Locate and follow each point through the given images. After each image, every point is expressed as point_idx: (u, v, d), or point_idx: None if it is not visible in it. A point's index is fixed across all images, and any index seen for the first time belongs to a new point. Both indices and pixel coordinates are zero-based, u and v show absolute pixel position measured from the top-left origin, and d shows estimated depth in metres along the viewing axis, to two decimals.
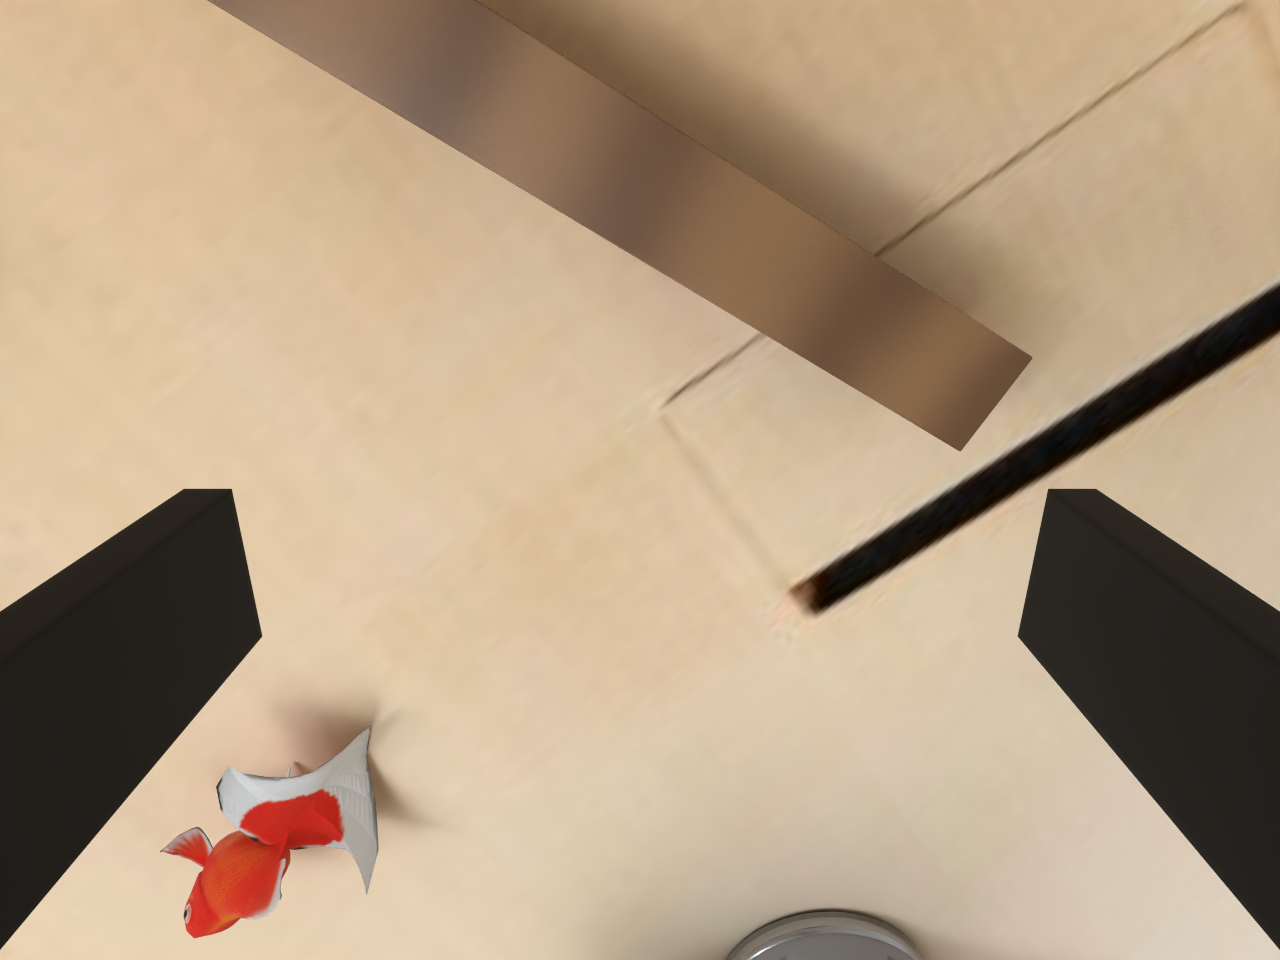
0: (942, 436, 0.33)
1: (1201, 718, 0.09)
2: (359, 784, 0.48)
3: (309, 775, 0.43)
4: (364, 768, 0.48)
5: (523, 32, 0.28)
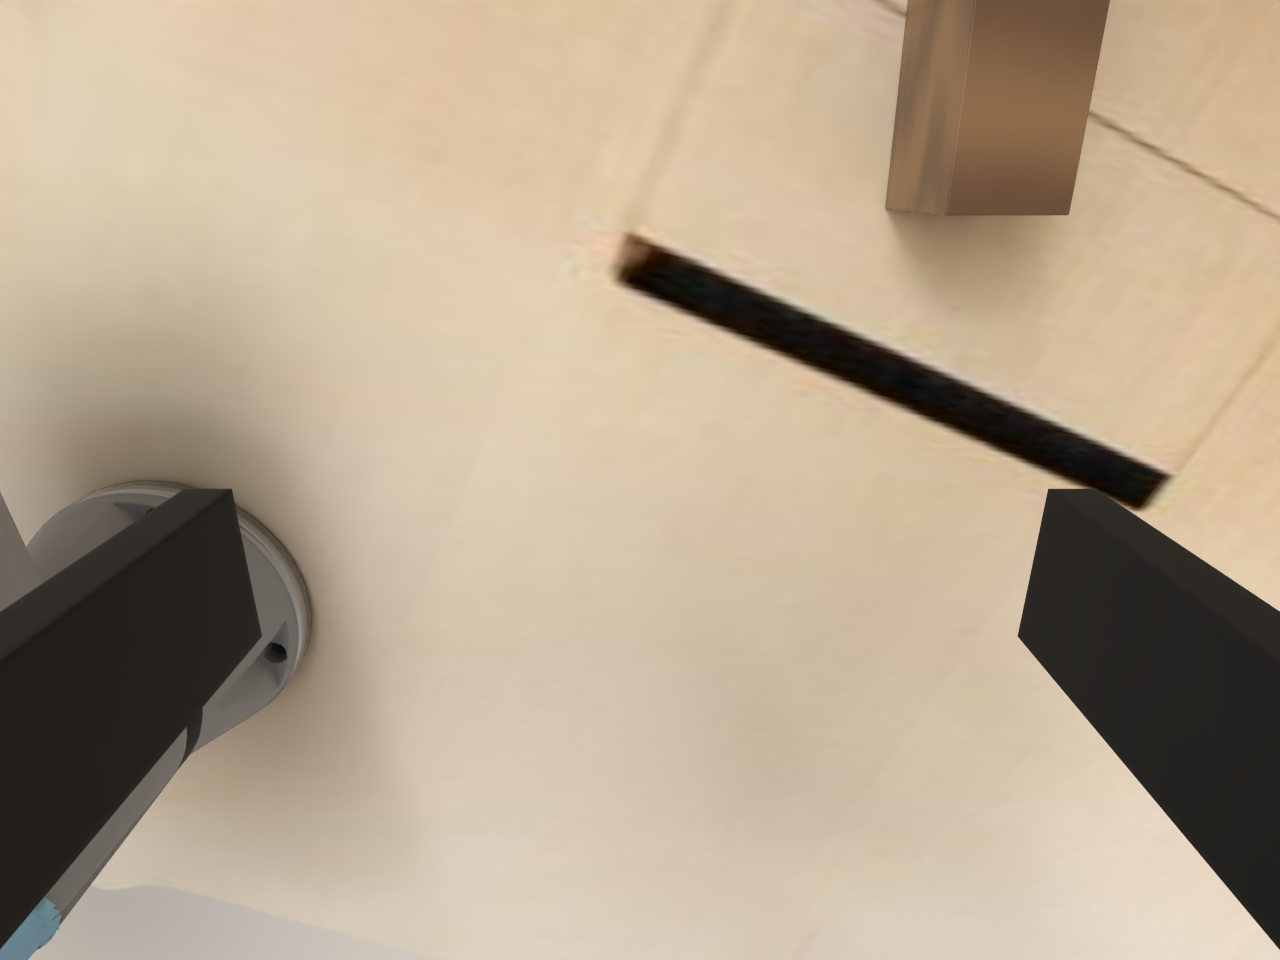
0: (954, 184, 0.29)
1: (1201, 719, 0.09)
2: None
3: None
4: None
5: None
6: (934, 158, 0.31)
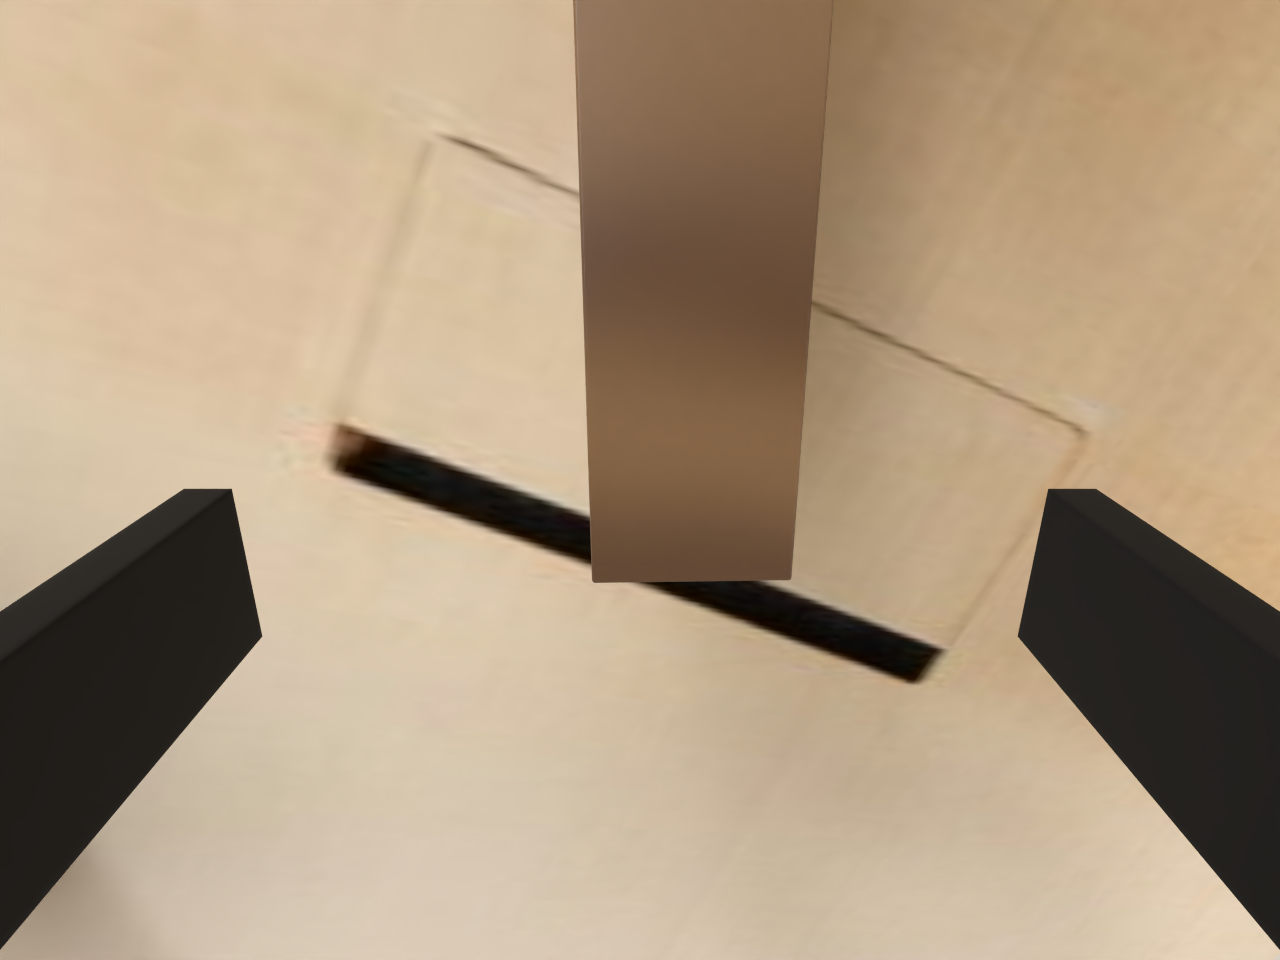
0: (597, 541, 0.18)
1: (1201, 719, 0.09)
2: None
3: None
4: None
5: None
6: None
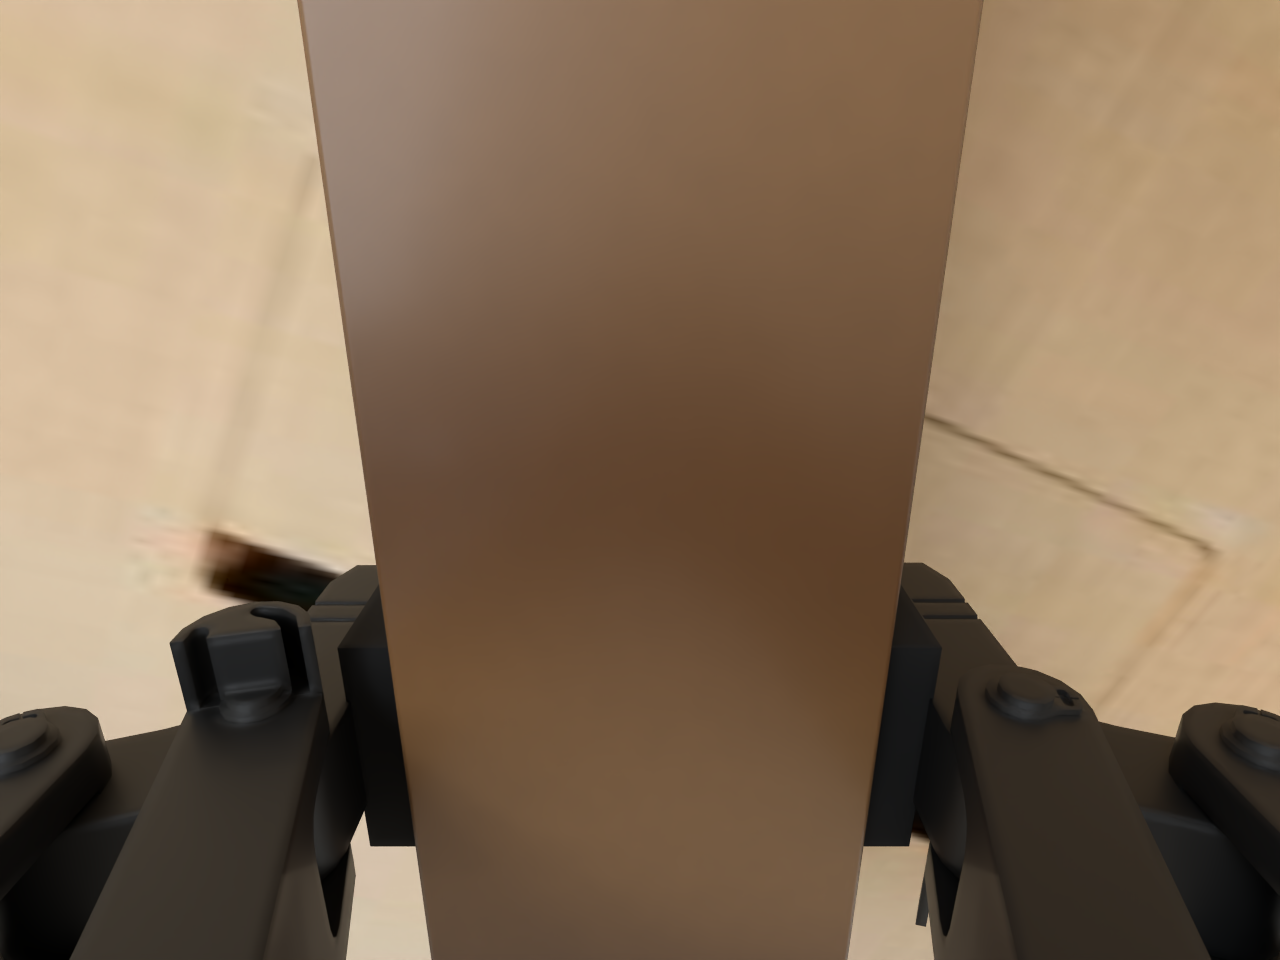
0: None
1: None
2: None
3: None
4: None
5: None
6: None
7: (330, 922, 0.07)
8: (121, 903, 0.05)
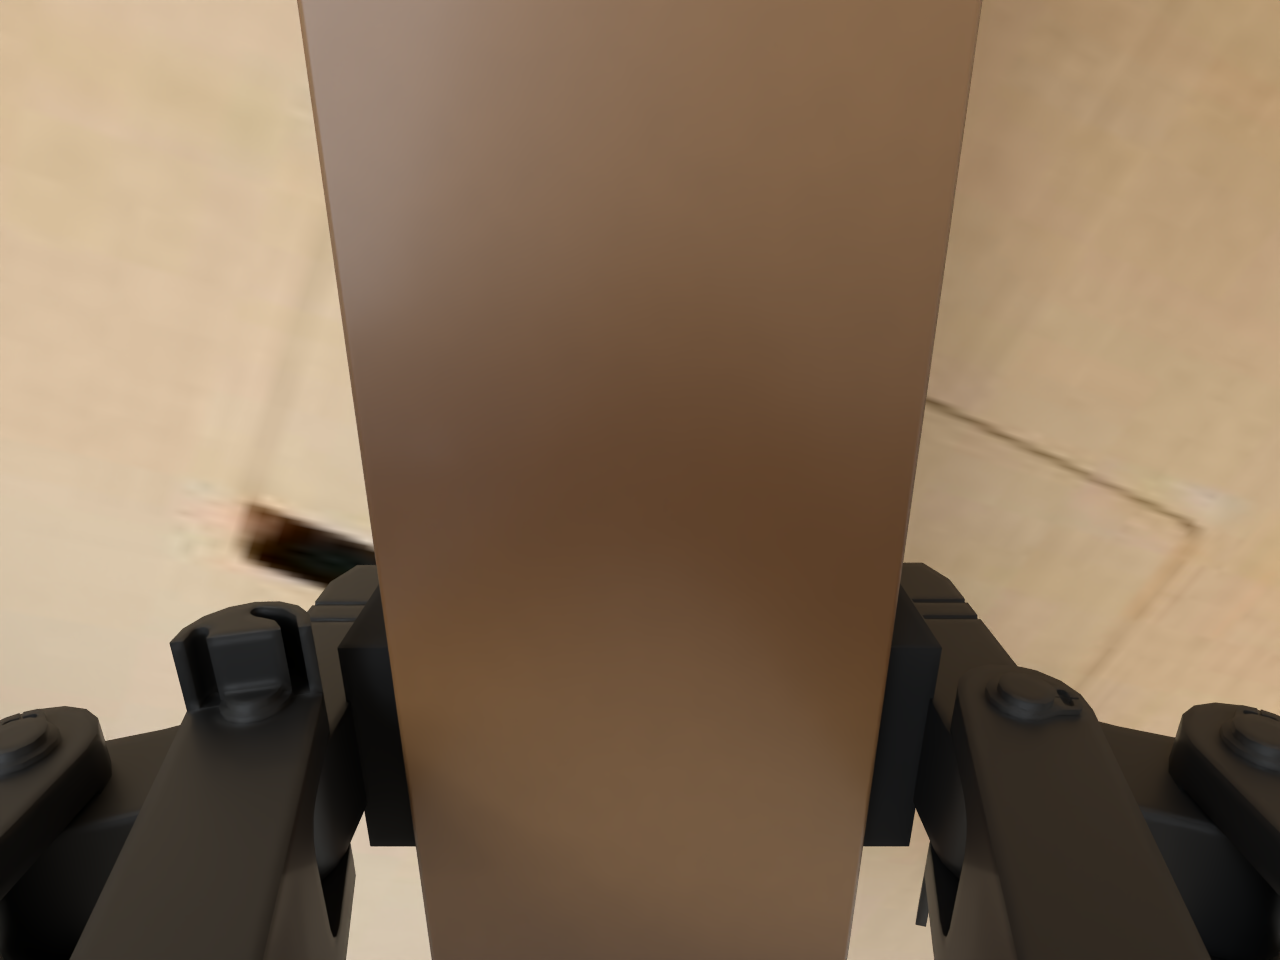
0: None
1: None
2: None
3: None
4: None
5: None
6: None
7: (330, 922, 0.07)
8: (121, 903, 0.05)
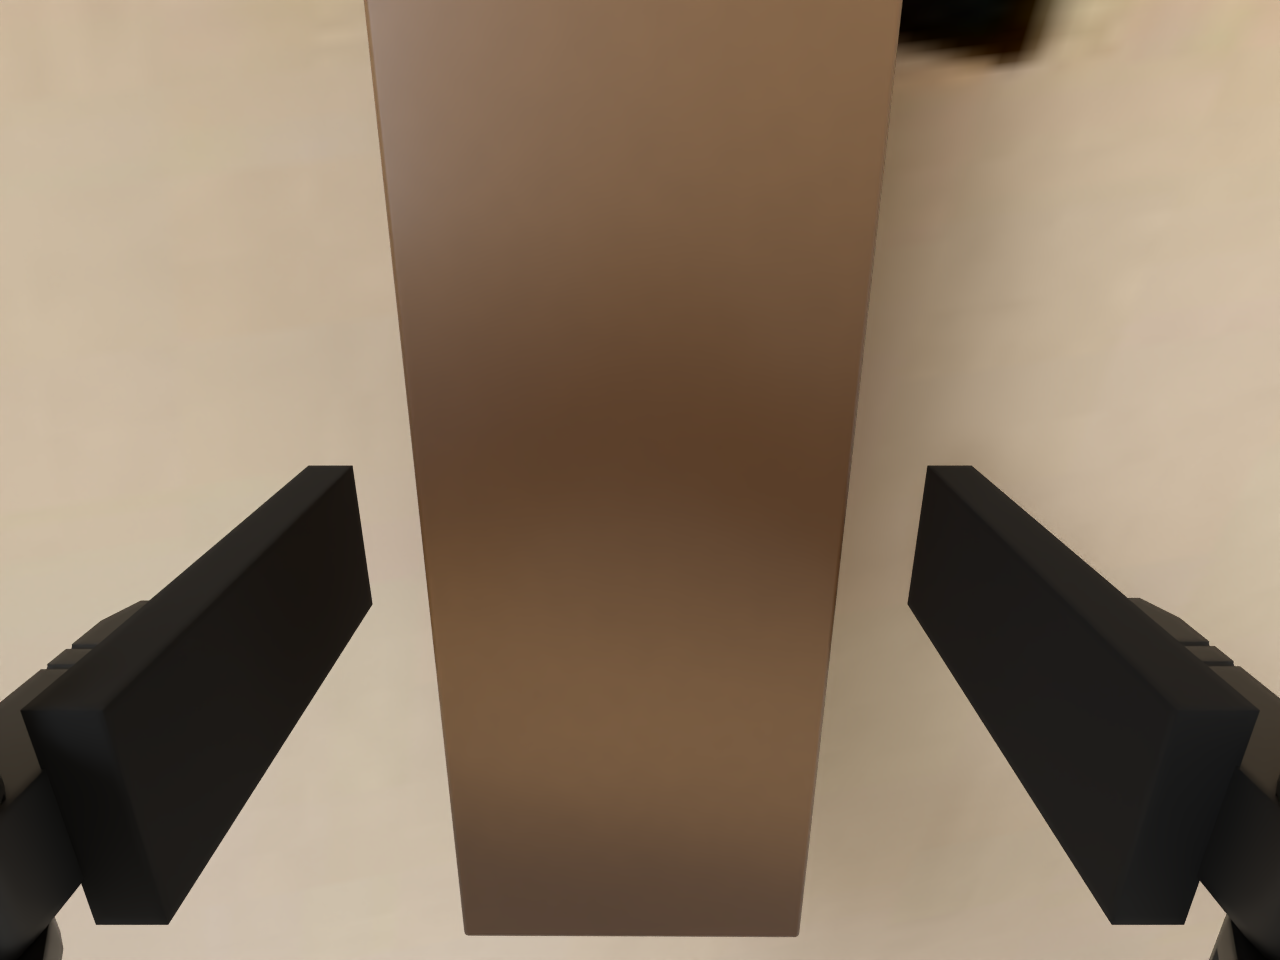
0: (469, 878, 0.10)
1: (1024, 664, 0.10)
2: None
3: None
4: None
5: None
6: None
7: None
8: None
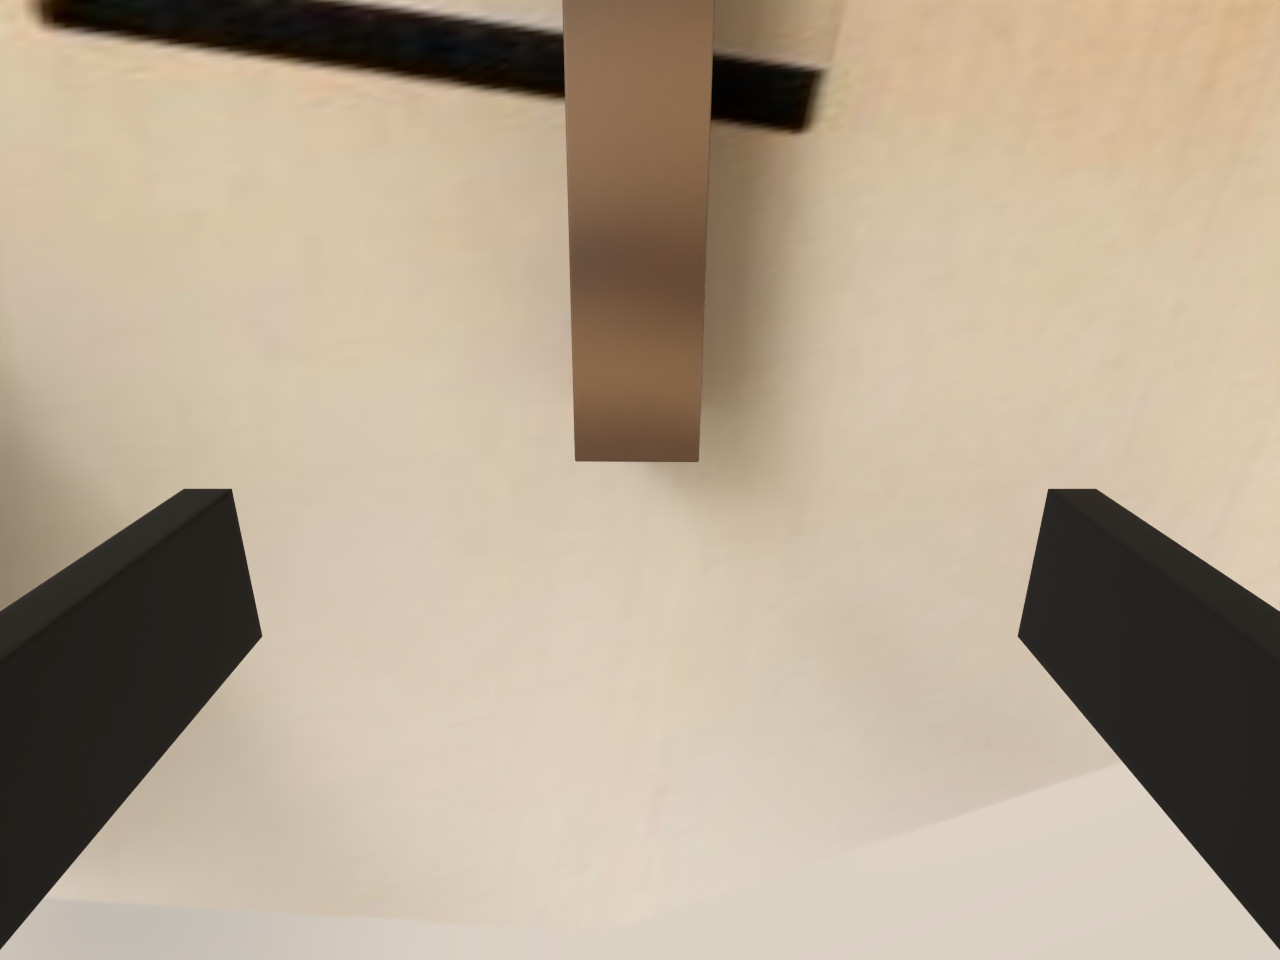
0: (578, 434, 0.29)
1: (1201, 719, 0.09)
2: None
3: None
4: None
5: None
6: None
7: None
8: None
